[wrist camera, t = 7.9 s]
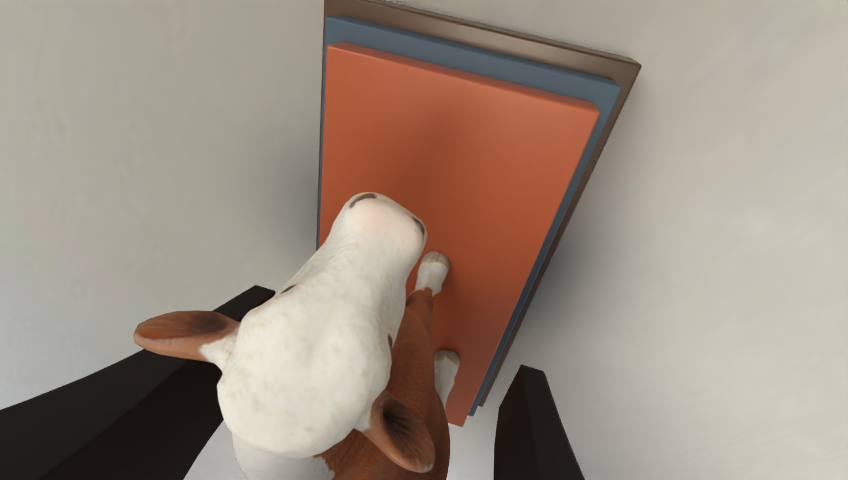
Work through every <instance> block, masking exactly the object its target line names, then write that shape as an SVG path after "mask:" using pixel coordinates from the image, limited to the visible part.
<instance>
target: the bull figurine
mask: <svg viewBox="0 0 848 480" xmlns="http://www.w3.org/2000/svg"><path fill="white" fill-rule="evenodd" d="M426 242H427V230H426V227H425V225H424V224H423V222H422V221H421V220H420V219H419V218H417V217H416V216H415V215H414V214H413V213H411V212H410V211H408V210H407V209H405V208H404V207H402V206H401V205H399V204H398V203H396V202H395V201H393V200H392V199H390V198H389V197H387V196H384V195H382V194H378V193H374V192H364V193H360V194H357V195H354V196H353V197H352V198H351V199H350V200H348V201H347V202H346V203H345V205H344V206H343V208H342V210H341V211H340V213H339V214H338V216H337V218H336V219H335V221H334V223H333V226H332V228H331V231H330V234H329V236H328V237H327V239H326V241H325V243H324V244H323V245H322V246H321V247H320V248H319V249H318V250H317V252H316V253H315V254H314V255H313V256H312V257H311V258H310V259H309V260H308V261H307V262H306V263H305V264H304V265H303V266H302V267H301V268H300V270H299V271H298V272H297V273H296V275H295V276H293V277H292V278H291V279H290V280H289V281H288V282H287V283H286V284H285V285H284V286H283V287H282V288H281V289H280V290H279V291H278V292H277V293H276V294H275V295H274V296H273V297H272V298H271V299H269V300H268V301H266V302H265V303H264V304H262V305H260V306H258V307H256V308H254V309H252V310H250V311H249V312H248V313H247V314H246V315H245V317H244V318H243V319H242V322H237V321H235V320H233V319H231V318H229V317H227V316H225V315H223V314H221V313H218V312H213V311H177V312H171V313H166V314H163V315H160V316H157V317H154V318H150V319H148V320H146V321H144V322H142V323H140V324H139V325H138V326H137V328H136V330H135V332H134V335H133V337H134V341H135V342H136V343H137V344H138V345H139V346H141V347H143V348H144V349H146V350H148V351H151V352H154V353H157V354H161V355H167V356H173V357H179V358H186V359H193V360H201V361H207V362H212V363H214V364H216V365H217V366H218V367H219V368H220V369H221V371H222V373H223V375H222V377H221V379H220V381H219V382H218V384H217V392H218V401H219V405H220V408H221V412H222V415H223V418H224V421H225V423H226V425H227V427H228V428H229V430H230V431H231V432H232V433H233V448H234V452H235V456H236V459H237V462H238V465H239V467H240V469H241V471H242V472H243V474H244V476H245V477H246V479H247V480H446V478H447V473H448V467H449V459H450V435H449V427H448V421H447V416H446V413H445V406H446V401H447V397H448V395H449V393H450V391H451V389H452V387H453V385H454V378H455V376H456V373H457V371H458V368H459V364H460V358H459V357H458V355H457V354H456V353H455V352H453V351H450V350H441V351H439V352H437V353H436V354H435V357H433V347H432V342H433V338H434V331H435V327H434V321H433V318H432V311H433V296H434V295H435V294H437V293H440V292H441V287H442V283H443V281H444V280H445V277H446V275H447V273H448V270H449V266H450V265H449V261H448V259H447V258H446V256H444V255H443V254H441V253H439V252H436V251H434V252H429V253H427V254H426V255H425V256H424V257H423V259H422V261H421V264H420V267H419V270H418V278H417V282H416V287H415V290H414V291H413V292H412V293H411V294H410V295H409V297H408V298H407V300H406V288H405V285H406V281H407V278H408V276H409V274H410V272H411V270H412V269H413V267H414V266H415V264H416V263H417V261H418V259H419V257H420V256H421V254H422V252H423V249H424V247H425V244H426ZM405 302H406V303H405ZM434 359H435V363H434Z"/></svg>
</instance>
